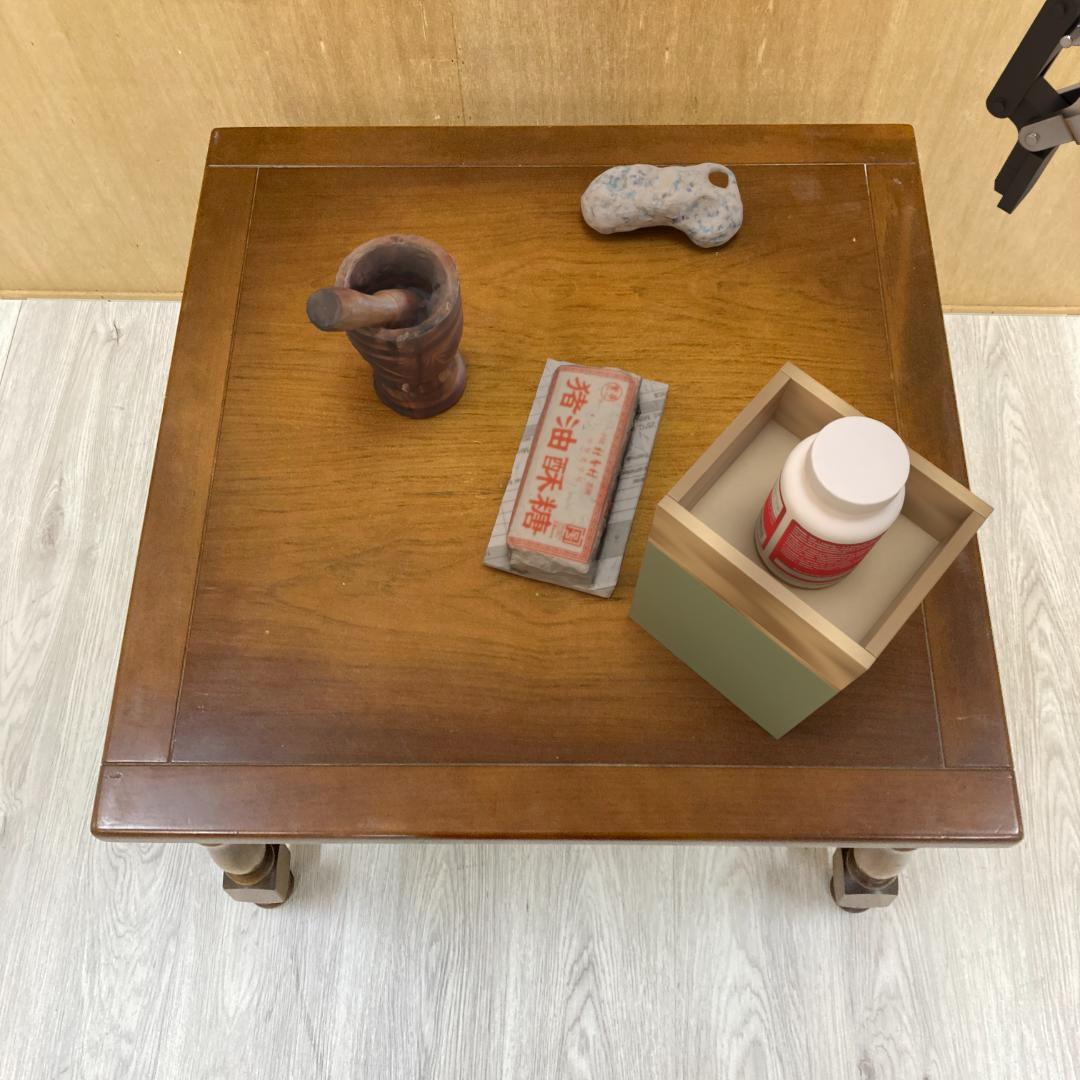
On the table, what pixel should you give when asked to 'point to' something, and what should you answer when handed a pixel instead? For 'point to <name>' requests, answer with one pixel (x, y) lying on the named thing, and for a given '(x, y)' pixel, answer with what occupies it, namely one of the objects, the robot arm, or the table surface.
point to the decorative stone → (665, 201)
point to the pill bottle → (832, 501)
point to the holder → (761, 596)
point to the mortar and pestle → (400, 320)
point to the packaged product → (578, 477)
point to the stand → (724, 646)
